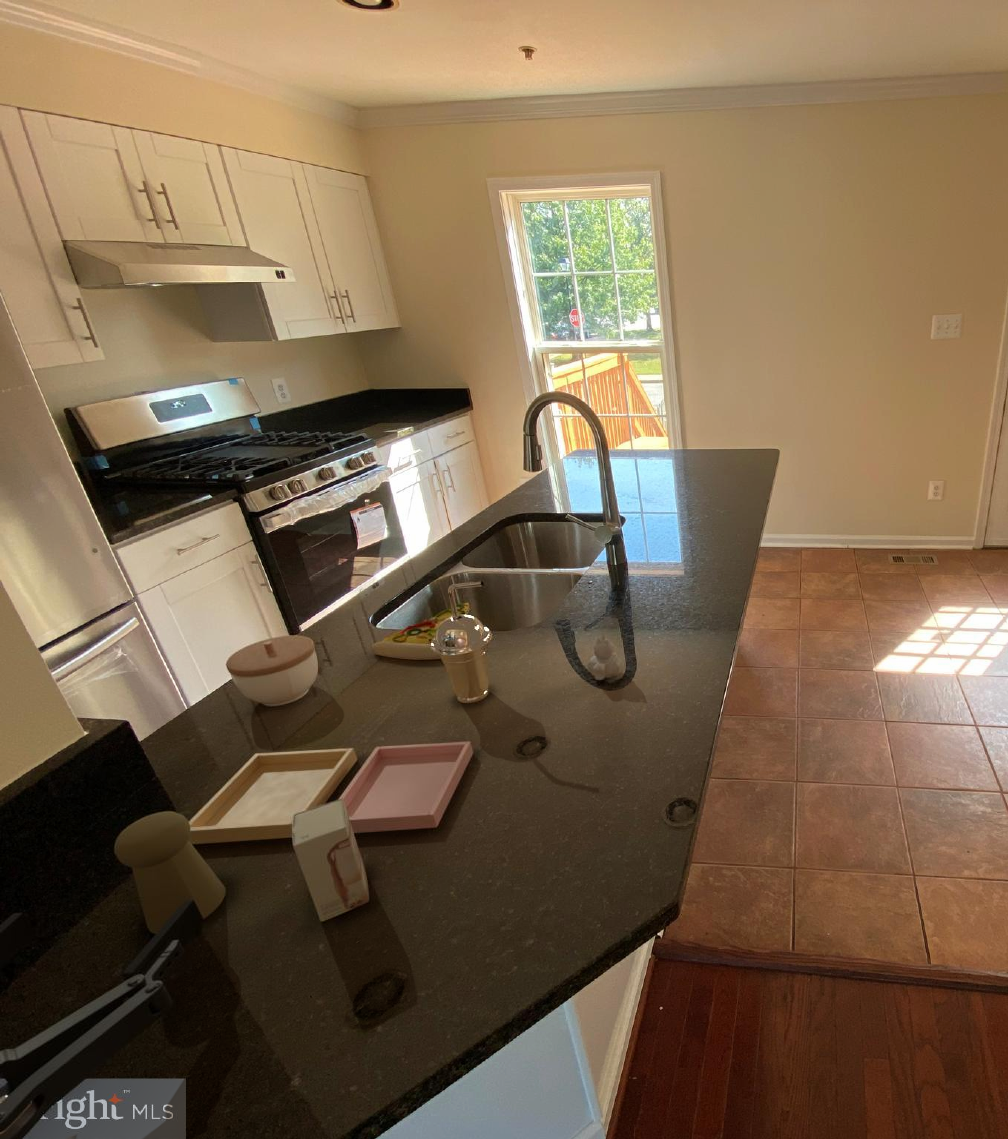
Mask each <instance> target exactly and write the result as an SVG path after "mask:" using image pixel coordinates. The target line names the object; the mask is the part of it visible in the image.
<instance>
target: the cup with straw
mask: <svg viewBox="0 0 1008 1139" xmlns="http://www.w3.org/2000/svg"><path fill="white" fill-rule="evenodd" d="M484 585H485V584H484V581H482V580H481V581H473V582H472V581H471V582H463V583H461V582H460V583H452V584H451V585H449V586H448V588H447V593H448V597H449V602H450V608H452V612H453V616H451V617H448V618H447V619H445V620H444V621H443V622H442V623H441V624H440V625H439V626H438V629H437V631H436V634H435V636H434V637H433V638H432V640H431V649H432V651H434V652H435V653H437V654H439V656H440V658H441V659H440V660H441V662H442V663H443V664H444V667H445V670H446V672H447V675H448V678H449V681H450V683H451V686H452V688H453V691H454V693H455V695H456V699H457V700H458V702H460V703H462V704H472V703H477V702H479V701H482V700H483V699H485V698H486V697H487V696H488V695H489V689H488V688H489V674H488V648H489V643H490V642H491V641H492V638H493V633H492V632H491V629H490V628H489V627H488V626H486V625H484V624H483V623H482V621H481V620H480V619H479V618H477V617H476V616H474V615H471V614H468V615H467V614H458V611H457V606H456V604H457V602H456V597H455V590H458V589H466V588H467V589H468V588H478V587H484Z"/></svg>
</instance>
